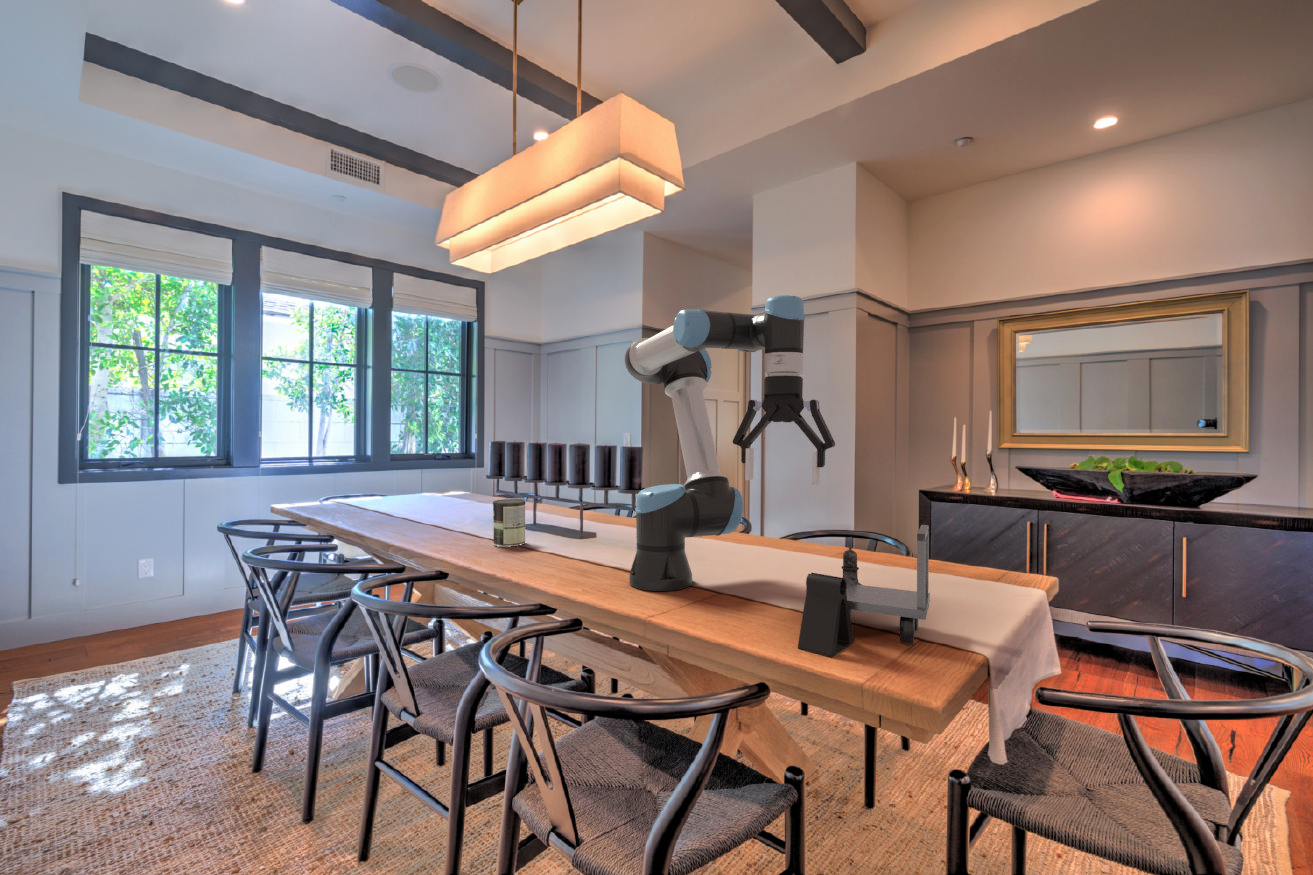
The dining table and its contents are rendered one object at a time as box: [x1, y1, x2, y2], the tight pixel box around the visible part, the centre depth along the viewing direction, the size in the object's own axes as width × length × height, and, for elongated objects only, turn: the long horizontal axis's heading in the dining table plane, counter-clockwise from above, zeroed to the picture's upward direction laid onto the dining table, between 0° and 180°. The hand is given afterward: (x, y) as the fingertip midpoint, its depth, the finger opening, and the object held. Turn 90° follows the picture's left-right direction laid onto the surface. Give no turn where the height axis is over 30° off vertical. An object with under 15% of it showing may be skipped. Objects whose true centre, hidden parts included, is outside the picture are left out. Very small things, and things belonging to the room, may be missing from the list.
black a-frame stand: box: [797, 572, 855, 658], centre depth 99 cm, size 9×6×12 cm, turn 138°
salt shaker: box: [841, 546, 863, 585], centre depth 124 cm, size 6×6×12 cm
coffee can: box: [492, 498, 526, 548], centre depth 189 cm, size 10×10×14 cm
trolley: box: [846, 524, 931, 645], centre depth 107 cm, size 18×13×19 cm
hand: (781, 482), depth 117 cm, fingers open, 13 cm apart
